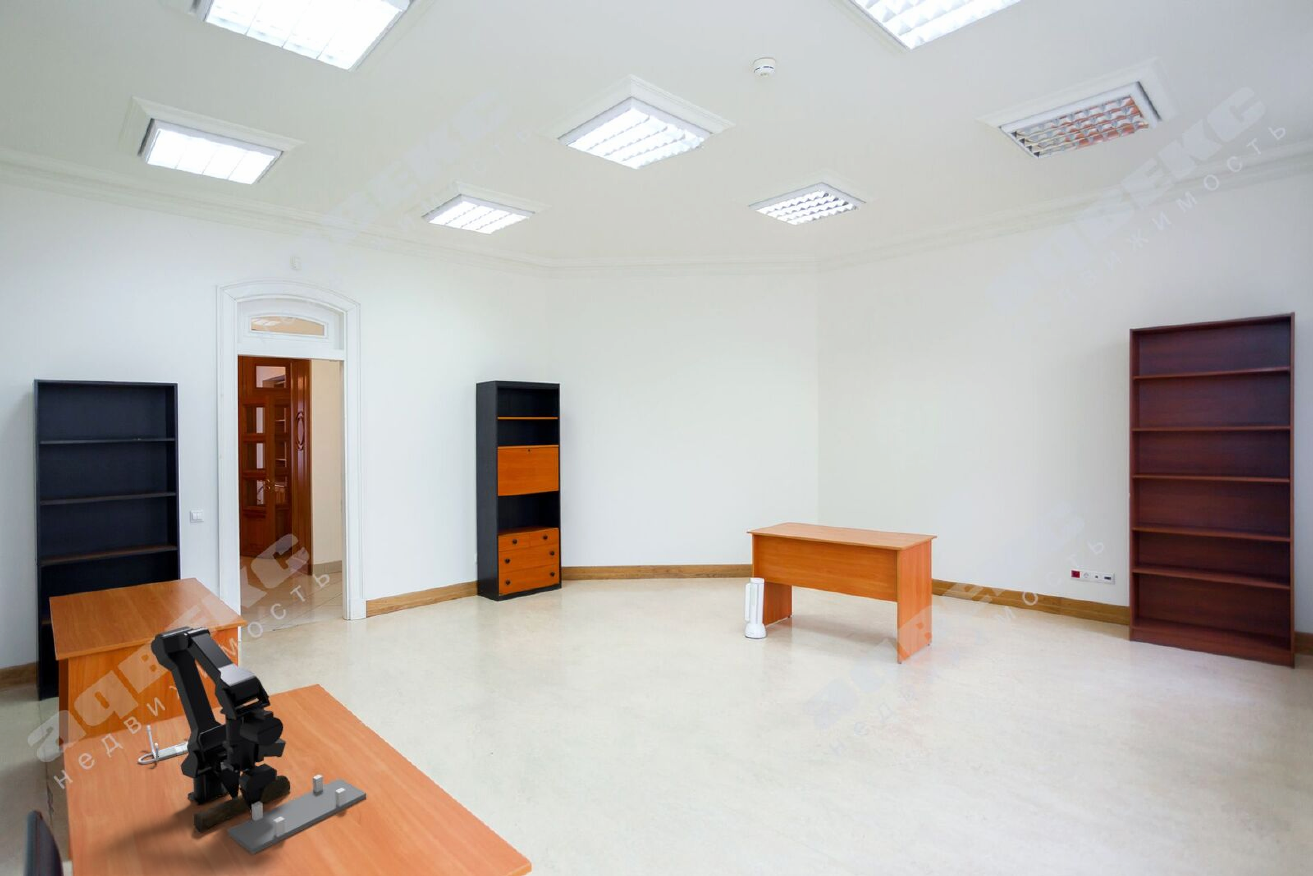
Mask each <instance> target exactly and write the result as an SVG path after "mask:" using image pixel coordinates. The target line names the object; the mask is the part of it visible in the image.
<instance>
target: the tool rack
mask: <svg viewBox="0 0 1313 876" xmlns="http://www.w3.org/2000/svg"><path fill="white" fill-rule="evenodd" d="M366 798H367V793H366V792H365V791H363V790H361V789H359V788H358V787H357V786H354V785H352V784H351V783H349V782H347V781H346V780H344V779H342V778H341V777H339V778H337V779H334V780H333V781H331V782H328V783H326V784H324V776H323V775H321V774H317V775H315V776H313V777H312V790H311V791H309V792H306V793H304V794H302V795H300V796H298V797H295V798H293V799H292V800H289V801H288V802H284V803H283V804H280V805H278V806H276V807H274V808H272V809H270V810H268V811H265V812H264V809H263V803H261V802H260V801H259V802H256V803H254V804H252V813H251V818H250V819H248V820H246V821H244V822H241V823H239V824H237V825H234V826H233V827H230V828H229V829H227V835H228V836H229V837H230V838H232V839H233V840H234V841H235V842H237V843H238V844H239V845H241V846H242V847H243V849H245V850H247V851H248V852H249V853H250V854H251V855H255V854H257V853H258V852H260V851H263V850H265V849H267V848H268V847H270V846H272V845H274V844H276V843H279V842H280V841H282V840H284V839H286V838H288V837H291V836H292V835H295V834H297V833H299V832H300V831H302V830H304V829H306V828H309V827H310V826H312V825H315V824H317V823H318V822H321V821H322V820H324V819H326V818H328V817H330V816H332V815H334V814H336V813H338V812H341V811H343V810H344V809H346V808H348V807H350V806H353V805H354V804H356V803H358V802H360V801H362V800H364V799H366Z"/></svg>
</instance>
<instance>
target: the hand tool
mask: <svg viewBox="0 0 1313 876" xmlns="http://www.w3.org/2000/svg"><path fill="white" fill-rule="evenodd" d="M290 790H291V781H290V780H289V779H288V777H287V776H286V775H277V780H276V781H274V782H272V783H271V784H269V785H267V786H266V787H265V789H264V791H263V794H262V797H261V801H260V802H261V803H262V804H264V805H268V804H271V803H272V802H274V801H276V800H277V799H279V798H280V797H281V798H282V797H283V796H284V795H285V794H287V793H289V792H290ZM248 810H249V808H248V806H247V804H246V802H245V800H244V798H243V795H242V794H240V795H238V797H236V798H233V799H232V798H231V799H229V800H227V801H224V802H220V803H219V804H216V805H214V806H212V807H209V808H207V809H204V810H202V811H198V812H194V813H193V826H194V829H195V831H197V832H198V833H199V834H200V833H202V832H203V831H204V830H207V829H208V830H209V829H211V827H212V826H214V825H217V824H219V823H221V822H222V821H224V820H226V819H229V818H232V817H234V816H237V815H239V814H240V813H243V812H245V811H248Z"/></svg>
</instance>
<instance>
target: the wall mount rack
mask: <svg viewBox="0 0 1313 876" xmlns="http://www.w3.org/2000/svg"><path fill="white" fill-rule="evenodd" d="M146 731H147V734H148V740H149V745H150V750H151V753H147V754H144V755H142V756H141V757H139V758H138V759H137V762H138V763H139V764H149V763H152V762H158V761H163V760H166V759H170V758H173V757H176V755H177V756H179V755H183V754H187V753H188V750H187V744H188V741H186V742H182V743H180V744H176V745H172V746H169V747H166V748H162V749H159V744H158V742H155V743H154V742H153V737H152V736H153V735H152V728H151V725H147V726H146ZM147 756H148V757H150V756H153V758H152V759H147V760H143V759H146V758H148V757H147ZM158 756H159V757H158Z"/></svg>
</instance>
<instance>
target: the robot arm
mask: <svg viewBox="0 0 1313 876" xmlns="http://www.w3.org/2000/svg"><path fill="white" fill-rule="evenodd" d="M150 650H151V653H152V654H153V655H154V656H155V659H156V660H157V663H158V664H159V665H160V666H161V667H163V668H165V669H166V670H168V671H169V672H170V673H171V676H172V679H173V682H174V685H175V688H176V691H177V694H178V696H179V700H180V703H181V705H182V708H183V711H184V714H185V717H186V720H187V723H188V726H189V730H190V734H189V737H188V741H187V742H188V744H187V750H188V752H187V753H188V755H186V757H185V758H184V759H183V761H182V763H181V764H180V770H181V774H182V775H183V776H186V777H188V778H191V779H192V783H193V787H192V788H193V789H192V790H193V791H191V792H189V793H187V798H189V799H190V800H191V801H192V802H194V803H195V804H196V805H197V806H201V805H204V804H206V803H208V802H210V801H212V800H215V799H218V798H220V797H222V796H225V795H229V796H230V798H231V799H233V798H236V797H238V796H239V791H240V793H241V794H240V795H243V798H244V800H245V802H246V804H247V806H248V808H249V809H248V810H249V812H250V813H251V814H252V804H254V803H256V802H259V801H261V797H262V794H263V791H264V789H265V787H266V786H267V785H269V784H271V783H272V782H274V781H276V780H277V776H278V770H277V769H275V768H274V767H273V766H271V765H269V764H267V763H265V762H264V761H265V758H273V757H276V758H282V757H283V753H284V751H285V747H286V744H287V741H286V740H284V739H283V738H281V736H282V734H283V732H284V724H283V721H282V720H281V719H280V718H279V717H276V716H274V715H275V714H274V711H272V710H265V708H269V707H270V706H271V702H270V700H269V698H270V696H269V694H268V693H267V690H266V689H265V687H264V686H263V683H262V682H261V680H260V678H258V676H257V675H255V674H254V673H253V672H252V671H251V670H249V669H248V668H245V667H241V666H237V665H236V664H235V663H234V662H233V661H232V659H231V658H230V657H229V656H228V655H227V654H226V652H225V651H224V649H222V648H221V646H219V644H218V643H217V641H216V640H214V638H213V637H212V636H211V632H210V629H209V628H208V627H202V626H201V627H197V628H192V627H190V626H188V625H186V626H183V627H179V628H174V629H173V630H168V631H167V630H166V631H163V632H160V633H158V634H156V635H155V637H154V639H153V640H151V643H150ZM197 664H198V665H199V666H200V668H202V670H203V671H204V672H205V674H206V675H207V676H208V677H209V678H210V679H211V681H212V682H213V684H214V685H215V686H214V696H215V697H216V699H217V702H218V704H219V705H220V707H221V709H220V710H219V713H220V714H221V715H224V717H225V719H224V721H225V723H223V724H222V723H221V722H219V721H218V720H216V717H215V715H214V712H213V707H212V706H211V702H210V701H209V698H208V697H209V696H208V694H207V691H206V688H205V686H204V682H203V681H202V677H201V674H200V672H199V668H198V665H197ZM255 700H257V701H255ZM252 701H254V702H252ZM250 702H252V703H250ZM245 704H246V705H245ZM261 762H264V763H262V764H260V763H261ZM256 763H257V764H260V765H256Z"/></svg>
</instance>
